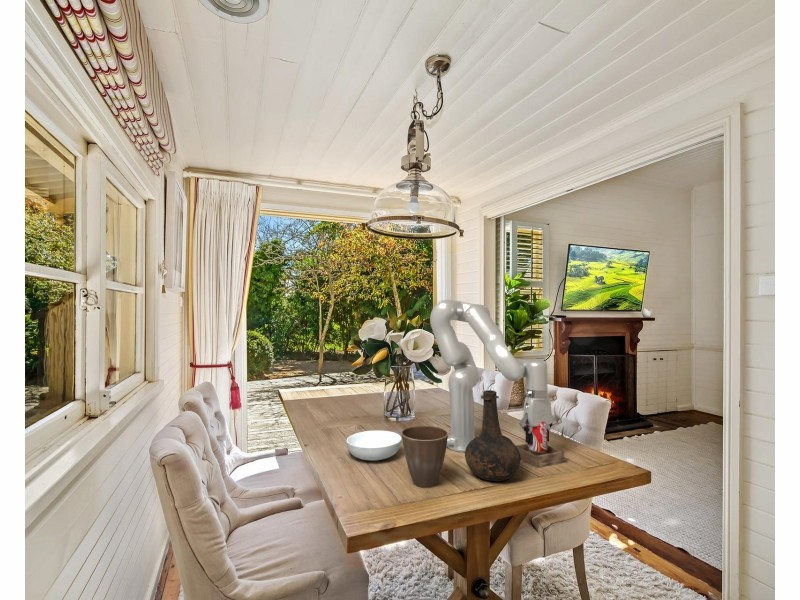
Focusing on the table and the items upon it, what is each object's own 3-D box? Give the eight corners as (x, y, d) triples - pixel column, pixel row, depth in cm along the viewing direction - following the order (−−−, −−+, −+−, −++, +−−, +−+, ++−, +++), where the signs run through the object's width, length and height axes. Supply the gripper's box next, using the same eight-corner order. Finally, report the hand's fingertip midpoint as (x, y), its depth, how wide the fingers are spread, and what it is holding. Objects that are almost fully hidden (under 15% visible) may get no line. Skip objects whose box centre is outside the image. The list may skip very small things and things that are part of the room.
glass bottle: (532, 479, 128) (530, 392, 129) (492, 492, 118) (491, 399, 119) (492, 461, 143) (491, 384, 144) (454, 472, 134) (453, 389, 135)
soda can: (538, 455, 142) (537, 421, 142) (523, 449, 148) (523, 416, 148) (551, 451, 145) (551, 419, 145) (537, 446, 151) (536, 414, 151)
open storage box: (536, 468, 137) (536, 457, 137) (510, 454, 150) (510, 445, 150) (567, 461, 142) (566, 452, 143) (539, 449, 155) (539, 440, 155)
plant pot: (458, 485, 123) (458, 434, 124) (419, 498, 115) (419, 443, 116) (429, 470, 136) (429, 423, 136) (393, 480, 128) (392, 430, 128)
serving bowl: (376, 443, 164) (376, 426, 164) (413, 456, 149) (412, 438, 149) (335, 456, 149) (335, 438, 150) (371, 472, 135) (371, 451, 135)
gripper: (525, 397, 140) (525, 448, 140) (562, 393, 147) (562, 442, 146) (511, 393, 147) (511, 442, 146) (547, 390, 154) (547, 436, 153)
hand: (537, 441), depth 146 cm, fingers closed on soda can, 7 cm apart
